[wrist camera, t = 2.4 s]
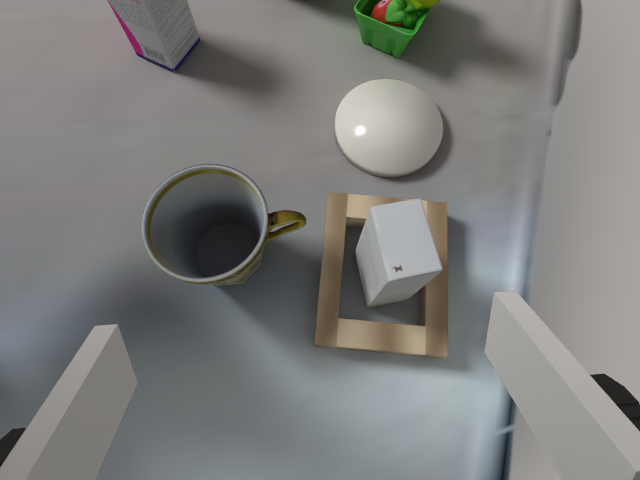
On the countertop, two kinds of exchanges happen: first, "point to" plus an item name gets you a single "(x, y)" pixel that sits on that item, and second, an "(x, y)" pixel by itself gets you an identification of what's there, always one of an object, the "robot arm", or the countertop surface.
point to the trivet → (388, 128)
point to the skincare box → (396, 252)
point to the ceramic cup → (211, 225)
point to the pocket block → (370, 334)
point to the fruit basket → (391, 22)
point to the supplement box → (158, 29)
